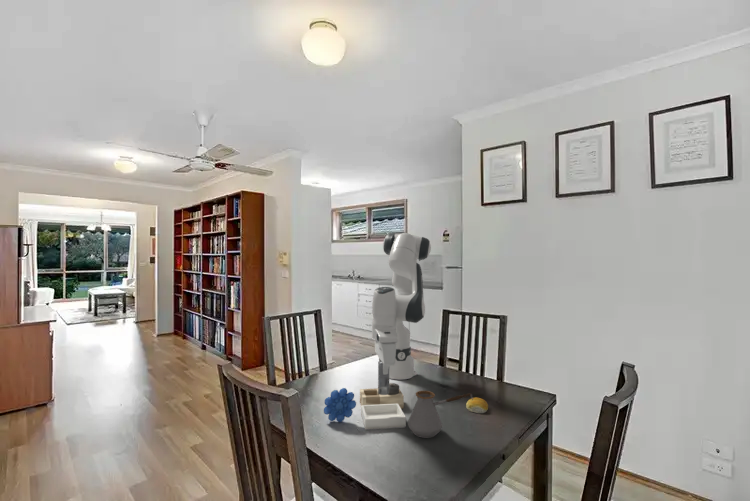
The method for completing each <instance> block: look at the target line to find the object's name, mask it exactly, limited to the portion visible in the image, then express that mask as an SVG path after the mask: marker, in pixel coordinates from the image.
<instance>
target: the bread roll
mask: <svg viewBox="0 0 750 501" xmlns="http://www.w3.org/2000/svg"><path fill="white" fill-rule="evenodd" d="M465 407H466V409H467V410H468V411H469V412H471V413H474V414H485V413H487V412H488V410H489V404H488V402H487V401H486V400H485V399H483V398H480V397H473V400H472V398H470V399H468V400H467V402H466V404H465Z"/></svg>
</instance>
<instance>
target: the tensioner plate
mask: <svg viewBox="0 0 750 501" xmlns="http://www.w3.org/2000/svg"><path fill="white" fill-rule="evenodd" d="M404 396H405V395H404V394H403V393H402V391H401V388H400V385H399V384H398V383H393V382H389V394H388V395H380V394H378V387H377V388H360V389H359V404H360V406H361V405H378V404H399V406H400V408H401V410H402V409H404V406H405V405H404V404H405V403H404V399H405V397H404Z"/></svg>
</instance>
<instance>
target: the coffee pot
mask: <svg viewBox="0 0 750 501" xmlns="http://www.w3.org/2000/svg"><path fill="white" fill-rule="evenodd" d="M415 396H416V398H417V400H416V401H415V402H416V403H415V405H414V406H413V409H412V411H411V414H410V416H409V419H408V422H407V425H408V428H409V430H410V431H412V433H413V434H414V435H416V437H420V438H422V439H423V438H425V439H429V438H433V437H435V436H436V435H437V434H438V433H440V431H441V430H442V428H443V423H442V420H441V418H440V415H439V413H438V411H437V408H436V406H438V405H443V404H445V403H449V402H453V401H459V400H461V399H463V398H464V399H466V397H470V399H472V400H473V398H474V397H473V394H472V392H469V393H463V394H461V395H455V396H452V397H449V398H446V399H443V400H439V401H436V402H434V401H433V400H434V398H435V396H436V394H435V393H434V392H433V391H429V390H418V391H416V392H415Z"/></svg>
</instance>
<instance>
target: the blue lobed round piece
mask: <svg viewBox="0 0 750 501" xmlns="http://www.w3.org/2000/svg"><path fill="white" fill-rule="evenodd" d="M354 397H355V393H354V392H353V391H349V392H348V389H347V388H346V387H342V388H340V390H339V391H338V389H334V390H332V391H331V392H330V396H327V397H326V398H325V399H324V405H325V406H324V408H323V414H325V415H328V420H329V422H333V421H335V420H336V421H337V423H342V422H343V421H344V420H345V419H346V418H350V417H352V415H353V412H354V411H353V410H354V409H355V408H356V407H357V402H356V400H354V399H355V398H354Z"/></svg>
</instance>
